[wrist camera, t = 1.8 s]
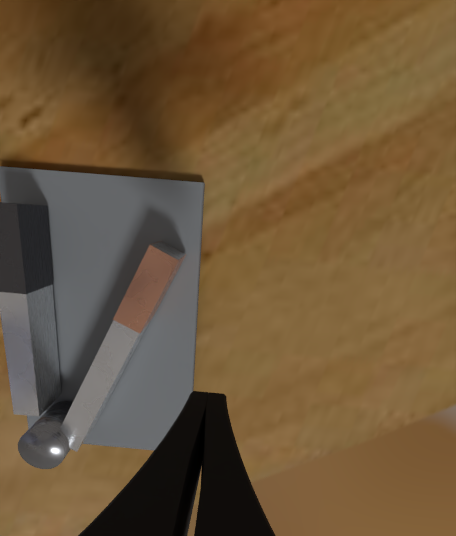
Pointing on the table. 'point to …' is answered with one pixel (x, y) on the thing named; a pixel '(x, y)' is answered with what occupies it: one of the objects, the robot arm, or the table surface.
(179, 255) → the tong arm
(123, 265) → the slate mat
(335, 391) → the table surface
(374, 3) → the table surface
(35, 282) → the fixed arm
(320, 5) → the table surface
